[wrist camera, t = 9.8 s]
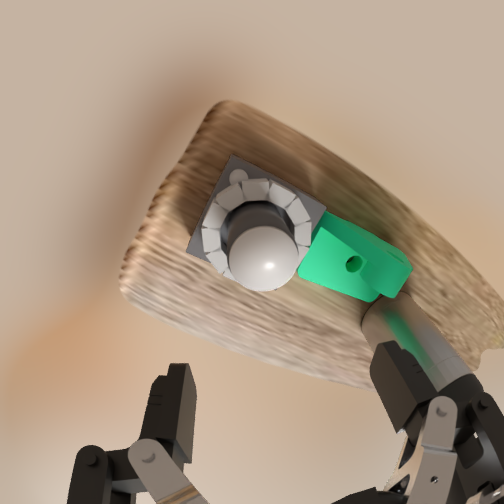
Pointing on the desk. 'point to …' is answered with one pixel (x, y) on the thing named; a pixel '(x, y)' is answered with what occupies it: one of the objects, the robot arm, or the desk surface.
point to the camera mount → (353, 260)
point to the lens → (260, 246)
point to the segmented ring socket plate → (251, 189)
